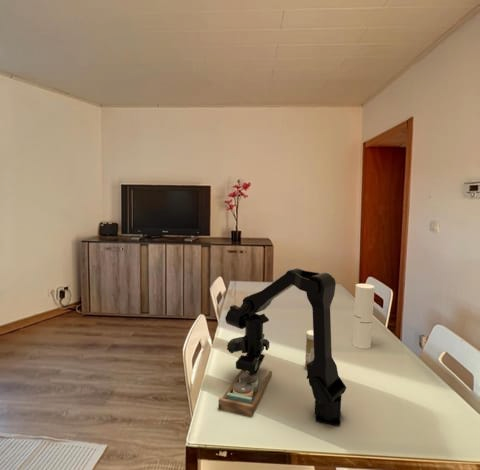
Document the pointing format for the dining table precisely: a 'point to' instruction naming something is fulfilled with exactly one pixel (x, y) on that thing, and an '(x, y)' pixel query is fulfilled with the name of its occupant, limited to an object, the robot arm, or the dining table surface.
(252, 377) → the green jar
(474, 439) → the dining table surface
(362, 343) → the cylindrical container
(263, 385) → the lane
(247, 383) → the terracotta jar
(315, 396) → the robot arm
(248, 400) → the pusher
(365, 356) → the dining table surface
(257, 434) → the dining table surface
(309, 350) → the sprinkles bottle
